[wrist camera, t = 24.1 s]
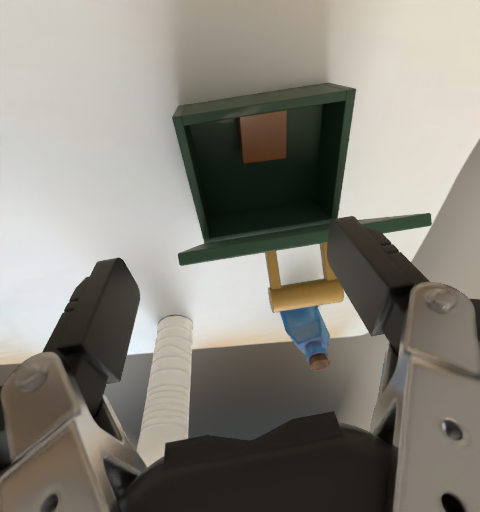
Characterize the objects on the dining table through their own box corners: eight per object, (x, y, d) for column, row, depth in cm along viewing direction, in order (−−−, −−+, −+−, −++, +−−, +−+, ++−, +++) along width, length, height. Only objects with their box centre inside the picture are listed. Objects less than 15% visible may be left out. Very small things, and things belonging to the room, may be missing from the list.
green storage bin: (178, 105, 26) (172, 117, 22) (329, 82, 27) (356, 88, 22) (204, 218, 35) (204, 244, 30) (318, 200, 35) (336, 223, 30)
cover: (177, 253, 16) (192, 336, 16) (431, 212, 16) (438, 296, 16) (204, 243, 30) (211, 287, 30) (338, 221, 30) (343, 266, 30)
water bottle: (164, 337, 51) (139, 513, 31) (153, 317, 47) (117, 505, 27) (207, 330, 51) (208, 501, 31) (200, 310, 47) (197, 492, 27)
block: (235, 107, 26) (239, 115, 23) (276, 102, 26) (287, 109, 23) (239, 151, 29) (243, 163, 26) (276, 146, 29) (286, 158, 26)
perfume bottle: (317, 308, 50) (343, 366, 41) (289, 320, 52) (307, 378, 42) (308, 290, 47) (334, 349, 37) (277, 303, 48) (295, 363, 39)
